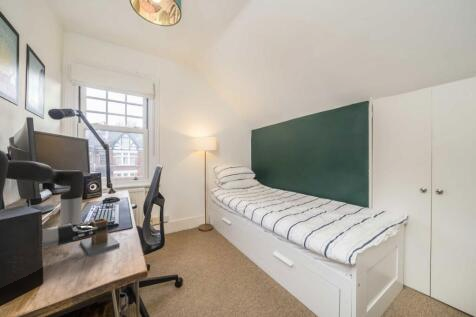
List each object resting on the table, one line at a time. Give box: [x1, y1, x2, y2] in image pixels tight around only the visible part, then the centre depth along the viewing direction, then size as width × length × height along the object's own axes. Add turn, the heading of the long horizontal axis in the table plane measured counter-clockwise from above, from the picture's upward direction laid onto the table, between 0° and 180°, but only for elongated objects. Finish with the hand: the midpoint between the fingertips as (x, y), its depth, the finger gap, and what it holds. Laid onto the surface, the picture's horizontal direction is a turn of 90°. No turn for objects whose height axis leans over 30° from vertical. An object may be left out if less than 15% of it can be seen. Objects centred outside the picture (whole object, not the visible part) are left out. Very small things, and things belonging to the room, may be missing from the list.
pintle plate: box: [79, 232, 121, 257], centre depth 85 cm, size 17×11×8 cm, turn 50°
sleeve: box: [90, 217, 109, 245], centre depth 84 cm, size 5×5×10 cm
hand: (104, 224), depth 86 cm, fingers open, 8 cm apart
